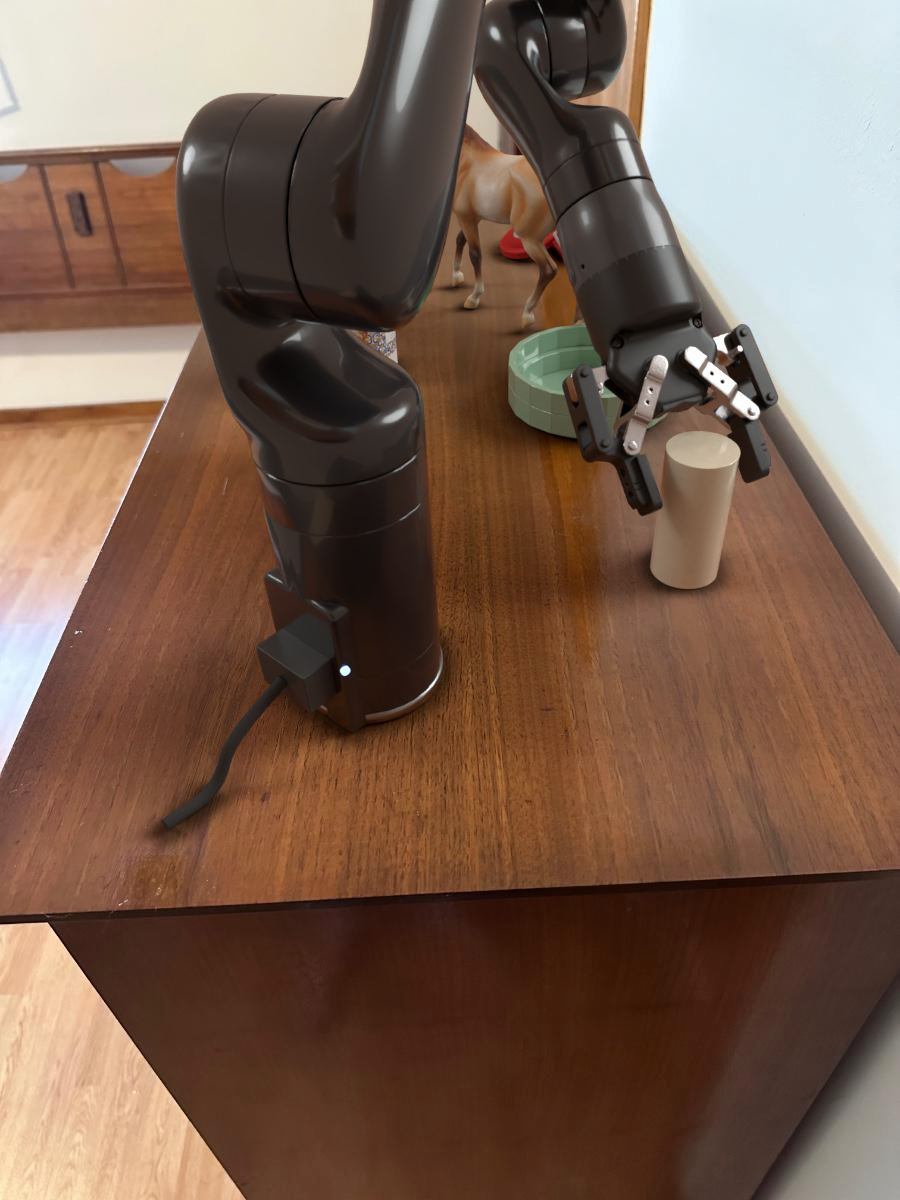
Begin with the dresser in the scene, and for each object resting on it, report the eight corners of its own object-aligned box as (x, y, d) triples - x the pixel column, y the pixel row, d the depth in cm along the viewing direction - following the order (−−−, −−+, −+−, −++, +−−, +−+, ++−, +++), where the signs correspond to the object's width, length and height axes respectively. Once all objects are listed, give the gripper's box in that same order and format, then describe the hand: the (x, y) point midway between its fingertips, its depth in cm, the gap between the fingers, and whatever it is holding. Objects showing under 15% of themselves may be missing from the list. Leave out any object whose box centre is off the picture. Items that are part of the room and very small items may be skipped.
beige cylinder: (695, 598, 62) (717, 476, 56) (637, 571, 65) (651, 452, 58) (729, 565, 65) (754, 445, 58) (672, 540, 67) (689, 423, 61)
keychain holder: (487, 251, 113) (509, 208, 118) (498, 281, 116) (519, 238, 121) (578, 237, 107) (597, 192, 113) (587, 269, 110) (605, 224, 116)
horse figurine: (400, 289, 108) (386, 98, 95) (449, 273, 112) (442, 86, 98) (585, 371, 89) (600, 146, 76) (637, 348, 93) (660, 130, 80)
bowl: (610, 461, 76) (614, 415, 73) (476, 409, 84) (475, 365, 81) (701, 395, 84) (708, 350, 82) (571, 353, 92) (573, 311, 90)
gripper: (554, 263, 55) (641, 512, 54) (744, 222, 59) (827, 453, 58) (515, 316, 62) (591, 536, 61) (686, 276, 66) (759, 482, 65)
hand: (706, 495), depth 59 cm, fingers open, 8 cm apart
